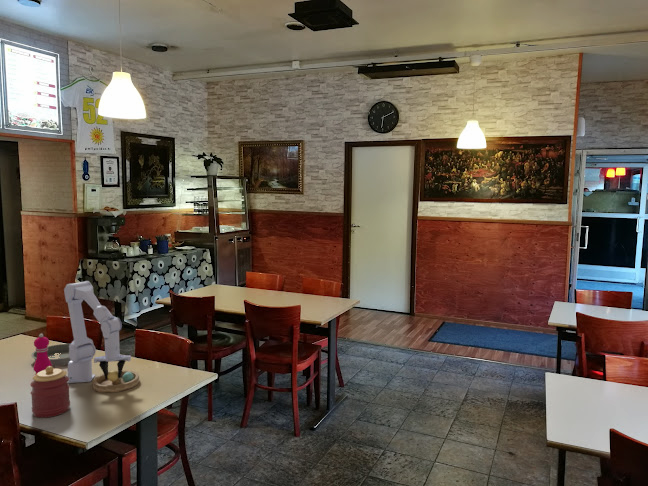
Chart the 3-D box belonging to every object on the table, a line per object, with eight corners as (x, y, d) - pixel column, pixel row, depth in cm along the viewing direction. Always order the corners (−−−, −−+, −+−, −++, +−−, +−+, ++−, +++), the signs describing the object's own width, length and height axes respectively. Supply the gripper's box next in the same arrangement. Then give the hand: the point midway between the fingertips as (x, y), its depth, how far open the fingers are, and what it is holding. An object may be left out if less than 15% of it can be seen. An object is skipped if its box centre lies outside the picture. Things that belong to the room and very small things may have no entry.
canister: (61, 400, 199) (59, 358, 197) (76, 409, 190) (74, 365, 189) (26, 411, 189) (23, 366, 187) (40, 421, 180) (37, 375, 179)
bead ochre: (106, 383, 208) (105, 372, 208) (109, 379, 213) (108, 368, 212) (117, 382, 209) (117, 372, 208) (120, 378, 213) (119, 368, 213)
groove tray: (87, 393, 206) (87, 387, 205) (100, 377, 224) (100, 371, 223) (133, 391, 208) (133, 385, 208) (142, 375, 227) (142, 369, 226)
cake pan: (20, 362, 242) (20, 353, 242) (66, 349, 264) (66, 340, 264) (52, 371, 231) (51, 362, 231) (97, 356, 253) (97, 348, 252)
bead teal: (121, 384, 214) (121, 374, 214) (124, 380, 219) (124, 370, 218) (132, 384, 215) (132, 374, 214) (134, 380, 219) (134, 370, 219)
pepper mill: (55, 374, 227) (53, 331, 225) (45, 379, 220) (43, 336, 218) (41, 373, 228) (39, 331, 226) (30, 379, 221) (28, 335, 219)
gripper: (91, 350, 204) (92, 382, 206) (127, 349, 207) (128, 380, 208) (96, 345, 211) (97, 376, 213) (131, 344, 214) (132, 374, 215)
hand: (113, 377), depth 211 cm, fingers closed on bead ochre, 5 cm apart
